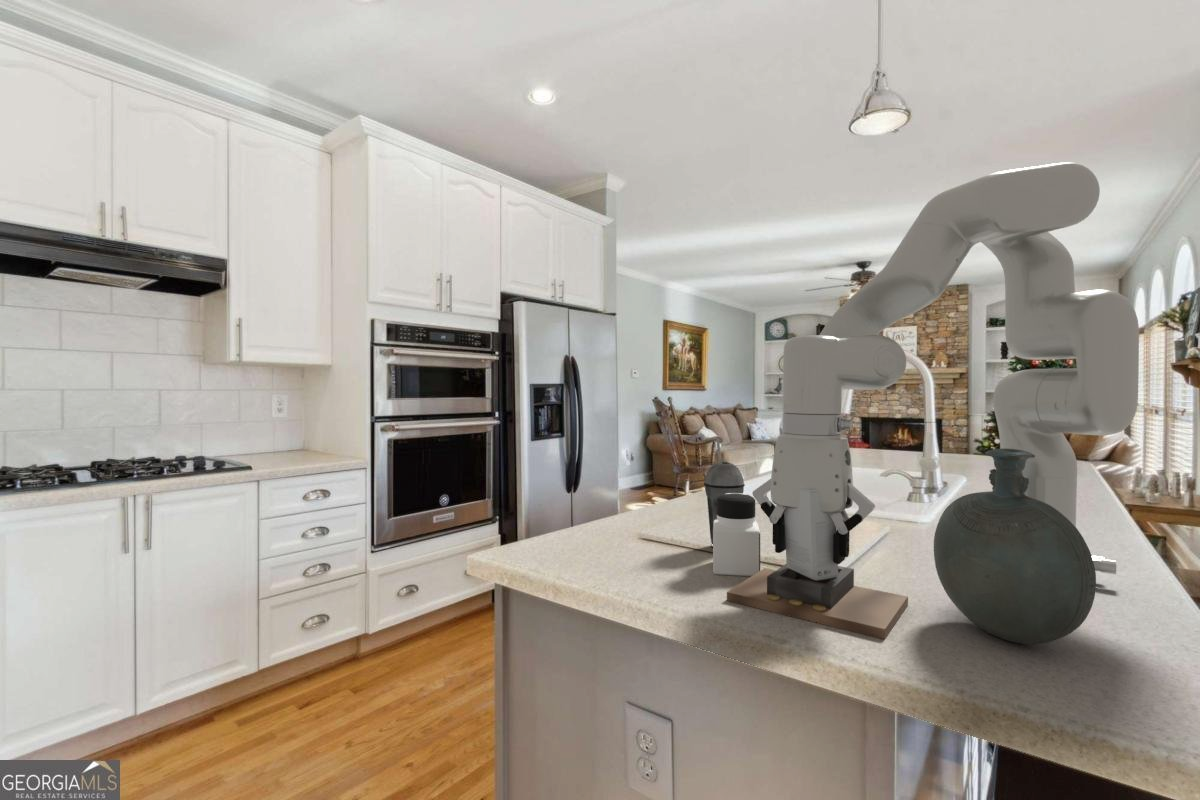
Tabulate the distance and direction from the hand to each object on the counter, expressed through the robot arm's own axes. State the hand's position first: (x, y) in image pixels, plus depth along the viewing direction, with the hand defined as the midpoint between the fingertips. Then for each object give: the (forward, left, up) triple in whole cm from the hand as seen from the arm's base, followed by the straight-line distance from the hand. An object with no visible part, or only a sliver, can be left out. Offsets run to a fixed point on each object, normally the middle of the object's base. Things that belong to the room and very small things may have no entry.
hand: (809, 555), depth 80 cm
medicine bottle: (+14, -7, -7) cm, 17 cm away
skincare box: (0, 0, -3) cm, 3 cm away
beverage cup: (+21, -17, -7) cm, 27 cm away
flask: (-22, -3, -7) cm, 23 cm away
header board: (-1, 0, -6) cm, 6 cm away
